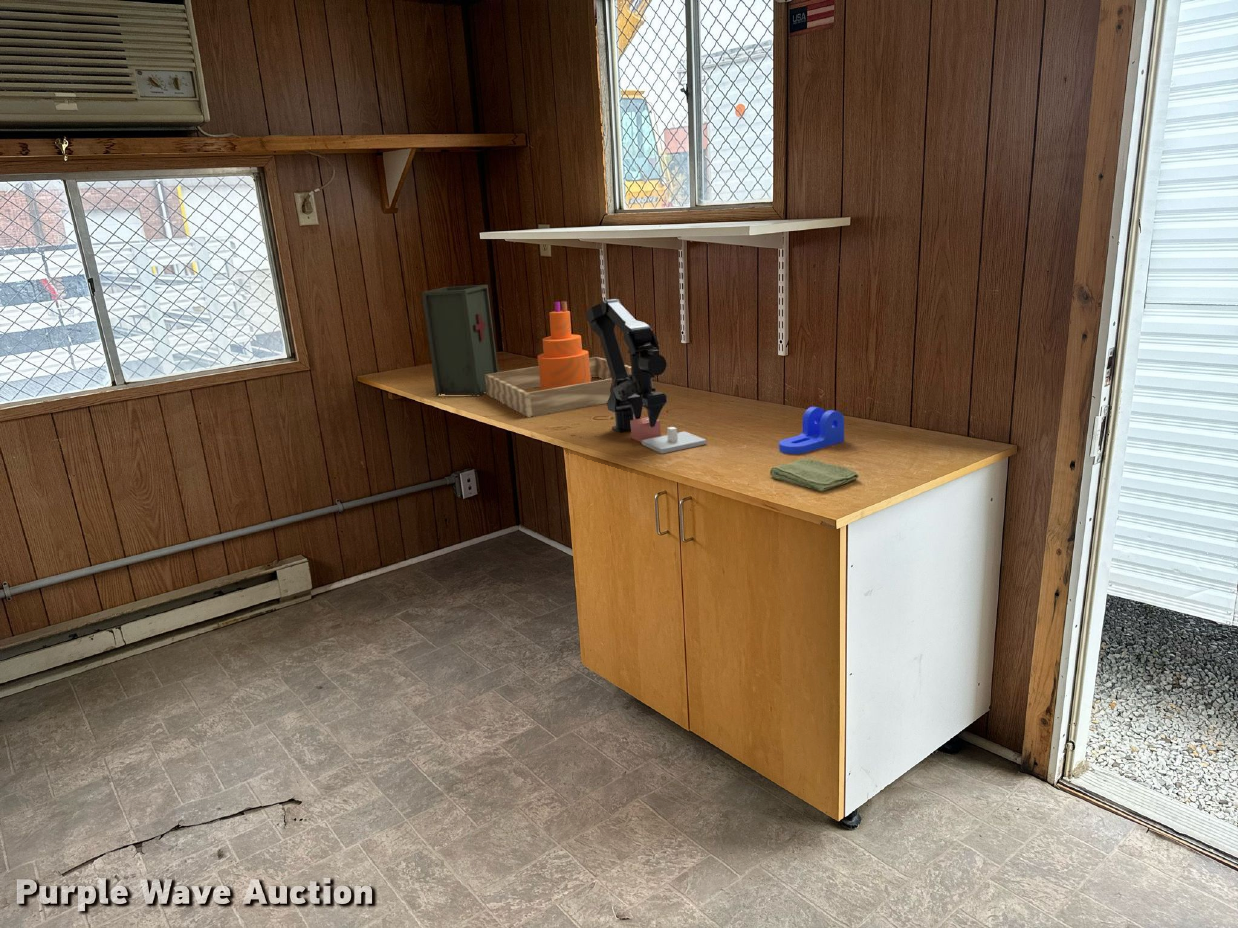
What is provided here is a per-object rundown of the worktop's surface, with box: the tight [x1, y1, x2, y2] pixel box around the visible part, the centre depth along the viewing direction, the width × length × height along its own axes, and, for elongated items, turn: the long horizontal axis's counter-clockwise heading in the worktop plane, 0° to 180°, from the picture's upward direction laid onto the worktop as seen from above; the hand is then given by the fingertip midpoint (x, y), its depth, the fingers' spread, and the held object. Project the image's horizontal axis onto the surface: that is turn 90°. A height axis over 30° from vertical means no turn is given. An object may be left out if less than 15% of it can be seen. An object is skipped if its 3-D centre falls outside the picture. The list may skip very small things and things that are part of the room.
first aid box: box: [421, 284, 499, 396], centre depth 325 cm, size 18×18×40 cm
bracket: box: [778, 406, 845, 455], centre depth 221 cm, size 18×8×9 cm, turn 123°
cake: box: [537, 301, 592, 390], centre depth 304 cm, size 20×19×35 cm
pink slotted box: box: [630, 416, 662, 444], centre depth 242 cm, size 6×6×6 cm
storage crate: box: [485, 356, 652, 418], centre depth 308 cm, size 47×47×8 cm
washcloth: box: [769, 458, 859, 493], centre depth 196 cm, size 13×18×3 cm
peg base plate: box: [641, 426, 707, 455], centre depth 233 cm, size 12×14×5 cm
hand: (645, 423), depth 241 cm, fingers open, 9 cm apart
